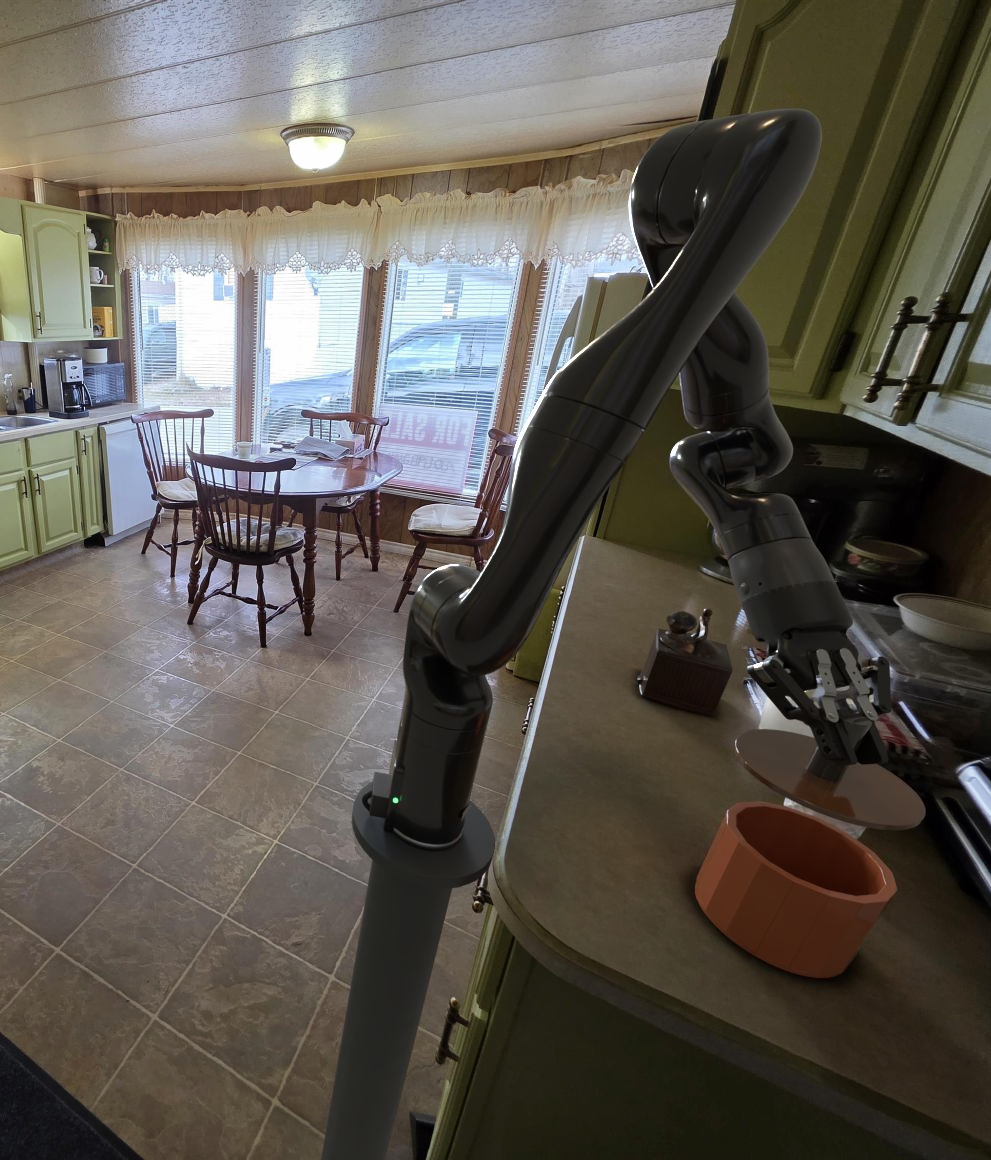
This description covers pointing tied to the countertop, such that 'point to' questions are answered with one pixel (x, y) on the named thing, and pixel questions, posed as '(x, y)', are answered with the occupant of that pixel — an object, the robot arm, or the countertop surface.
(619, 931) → the countertop surface
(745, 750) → the lid
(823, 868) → the crock
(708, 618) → the manual coffee grinder
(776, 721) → the jar
